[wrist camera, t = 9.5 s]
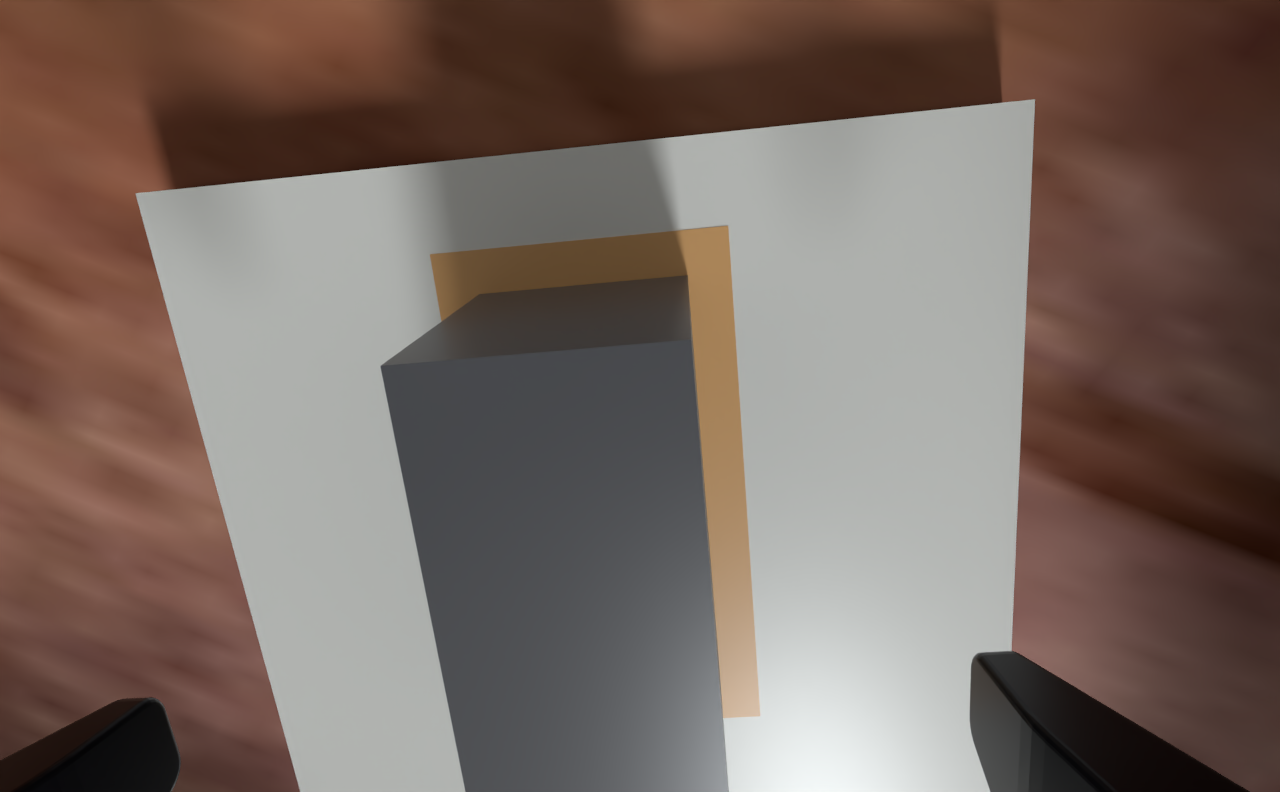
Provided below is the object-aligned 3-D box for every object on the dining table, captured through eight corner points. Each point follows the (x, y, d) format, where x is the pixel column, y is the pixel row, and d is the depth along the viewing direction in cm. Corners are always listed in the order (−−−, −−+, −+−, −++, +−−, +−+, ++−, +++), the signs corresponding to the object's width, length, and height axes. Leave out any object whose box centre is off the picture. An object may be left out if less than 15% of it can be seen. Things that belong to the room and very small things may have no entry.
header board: (972, 1066, 19) (1037, 1271, 16) (409, 1075, 20) (353, 1270, 17) (1003, 103, 13) (1126, 86, 9) (179, 189, 14) (10, 203, 10)
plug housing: (720, 687, 15) (737, 904, 11) (543, 696, 15) (489, 911, 11) (688, 275, 13) (690, 339, 8) (479, 294, 13) (380, 365, 9)
